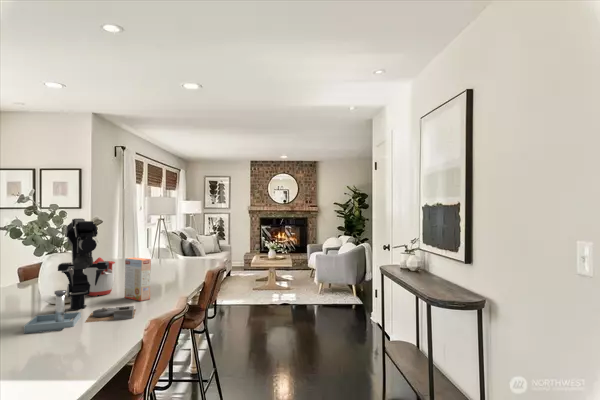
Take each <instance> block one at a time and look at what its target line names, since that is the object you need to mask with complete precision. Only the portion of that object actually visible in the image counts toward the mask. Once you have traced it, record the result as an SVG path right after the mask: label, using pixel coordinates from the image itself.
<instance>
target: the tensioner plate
mask: <svg viewBox="0 0 600 400" xmlns="http://www.w3.org/2000/svg"><path fill="white" fill-rule="evenodd" d="M134 308H135V307H134V305H128V306H125V305H124V306H116V307H108V306H104V307H102V308H98V309H95V310H93V311H92V312H91V313H90V314H89V315H88V316H87V318H86V320H85V321H84V323H86V324H87V323H94V322H96V323H97V322H107V321H119V320H131V319H134V318H135V315H136V311H137V309H136V308H135V309H134Z"/></svg>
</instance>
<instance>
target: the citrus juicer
mask: <svg viewBox="0 0 600 400" xmlns="http://www.w3.org/2000/svg"><path fill="white" fill-rule="evenodd" d="M100 261H105V260H104V259H103V258H102V257H98V258H97V259H95V261H93V264H94V263H98V262H100ZM107 261H108V262H109V268H107V269H105V270H104V271H102V273H101V275H100V277H99V280H98V282H97V285H95V278H96V270H97V269H98V268H86V269H83V273H84V274H85V275H87V278H88V282H89V284H90V285H91V286H90V294H89V295H88V296H91V297H98V296H97V295H99V296H104V295H110V294H111V292H112V290H113V287H114V283H115V269H116V267H115V266H116V265H115V264H116V262H115V261H110V260H107Z"/></svg>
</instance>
